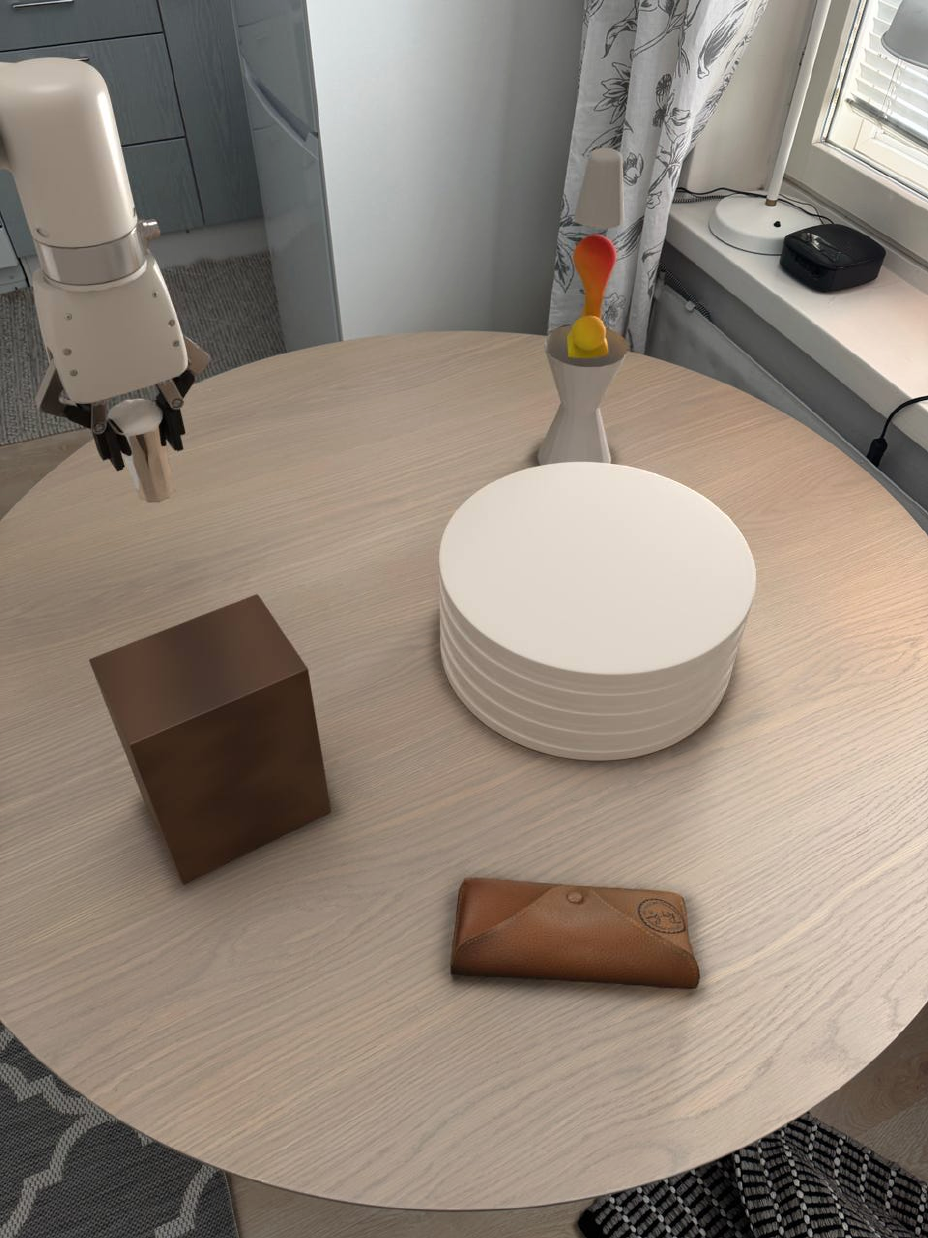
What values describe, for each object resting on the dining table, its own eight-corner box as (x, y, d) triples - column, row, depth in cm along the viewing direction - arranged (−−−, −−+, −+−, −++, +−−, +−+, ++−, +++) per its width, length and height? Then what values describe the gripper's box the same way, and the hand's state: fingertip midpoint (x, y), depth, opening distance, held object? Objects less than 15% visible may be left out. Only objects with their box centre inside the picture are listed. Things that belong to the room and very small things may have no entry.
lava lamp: (535, 434, 121) (556, 133, 96) (610, 436, 121) (650, 135, 96) (536, 480, 115) (559, 170, 90) (615, 482, 115) (659, 172, 90)
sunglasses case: (685, 887, 78) (703, 889, 71) (686, 982, 76) (704, 993, 70) (455, 876, 78) (452, 877, 72) (451, 970, 77) (447, 980, 70)
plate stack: (764, 754, 88) (796, 667, 79) (446, 767, 86) (445, 680, 78) (695, 544, 107) (715, 457, 99) (435, 552, 106) (433, 465, 98)
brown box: (182, 885, 78) (129, 745, 66) (141, 796, 84) (84, 652, 71) (331, 812, 83) (308, 668, 70) (282, 732, 89) (253, 586, 76)
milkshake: (117, 508, 89) (85, 413, 81) (147, 472, 92) (119, 379, 85) (162, 517, 88) (134, 423, 80) (191, 481, 91) (167, 387, 84)
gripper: (180, 206, 79) (218, 403, 92) (-40, 257, 73) (34, 461, 86) (218, 242, 75) (252, 443, 88) (-13, 300, 68) (61, 508, 81)
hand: (144, 450), depth 87 cm, fingers closed on milkshake, 4 cm apart
